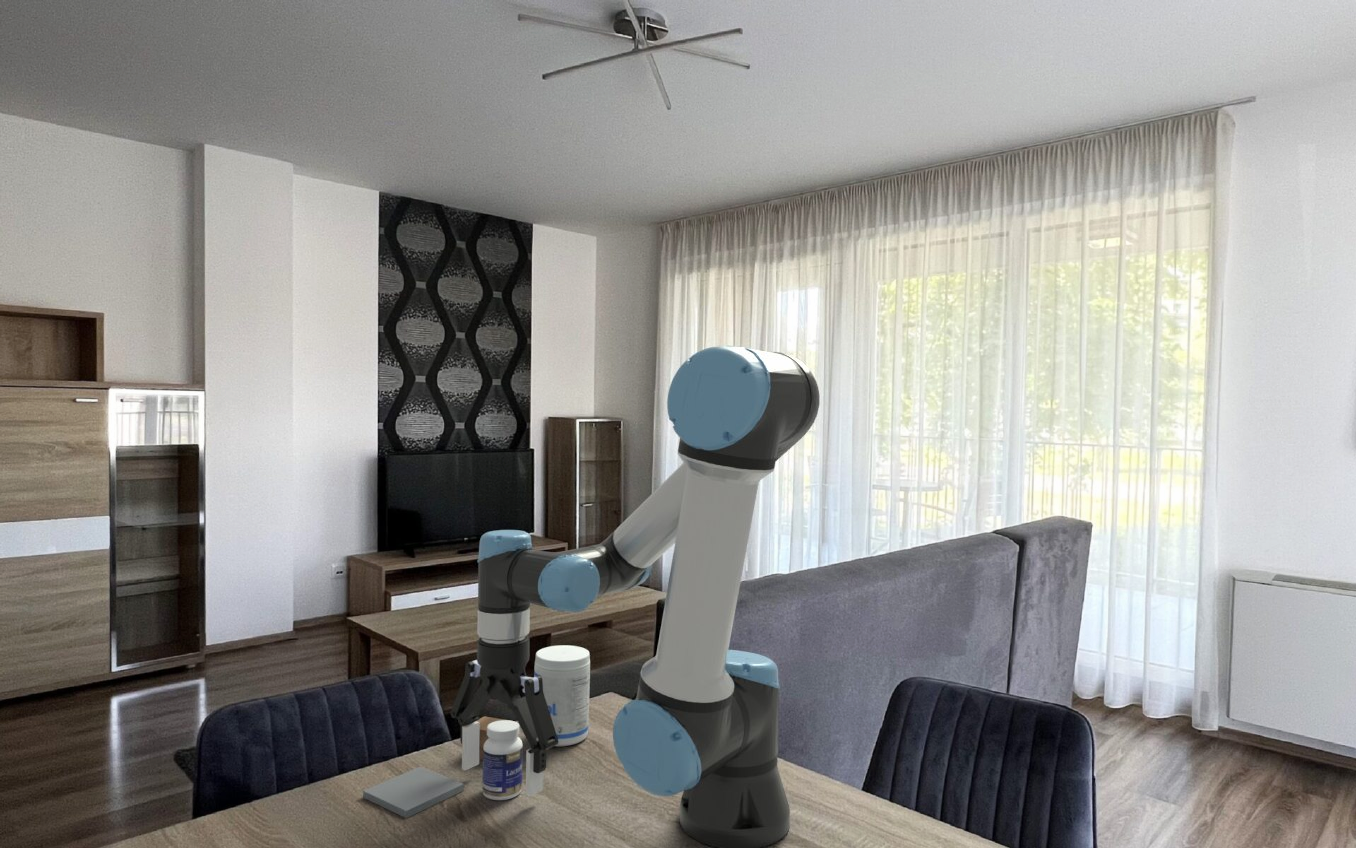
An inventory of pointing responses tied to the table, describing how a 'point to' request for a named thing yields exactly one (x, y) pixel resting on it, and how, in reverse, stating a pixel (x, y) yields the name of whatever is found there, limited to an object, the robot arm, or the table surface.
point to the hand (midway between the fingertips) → (501, 779)
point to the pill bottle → (502, 761)
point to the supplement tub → (566, 690)
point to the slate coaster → (413, 791)
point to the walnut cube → (484, 732)
